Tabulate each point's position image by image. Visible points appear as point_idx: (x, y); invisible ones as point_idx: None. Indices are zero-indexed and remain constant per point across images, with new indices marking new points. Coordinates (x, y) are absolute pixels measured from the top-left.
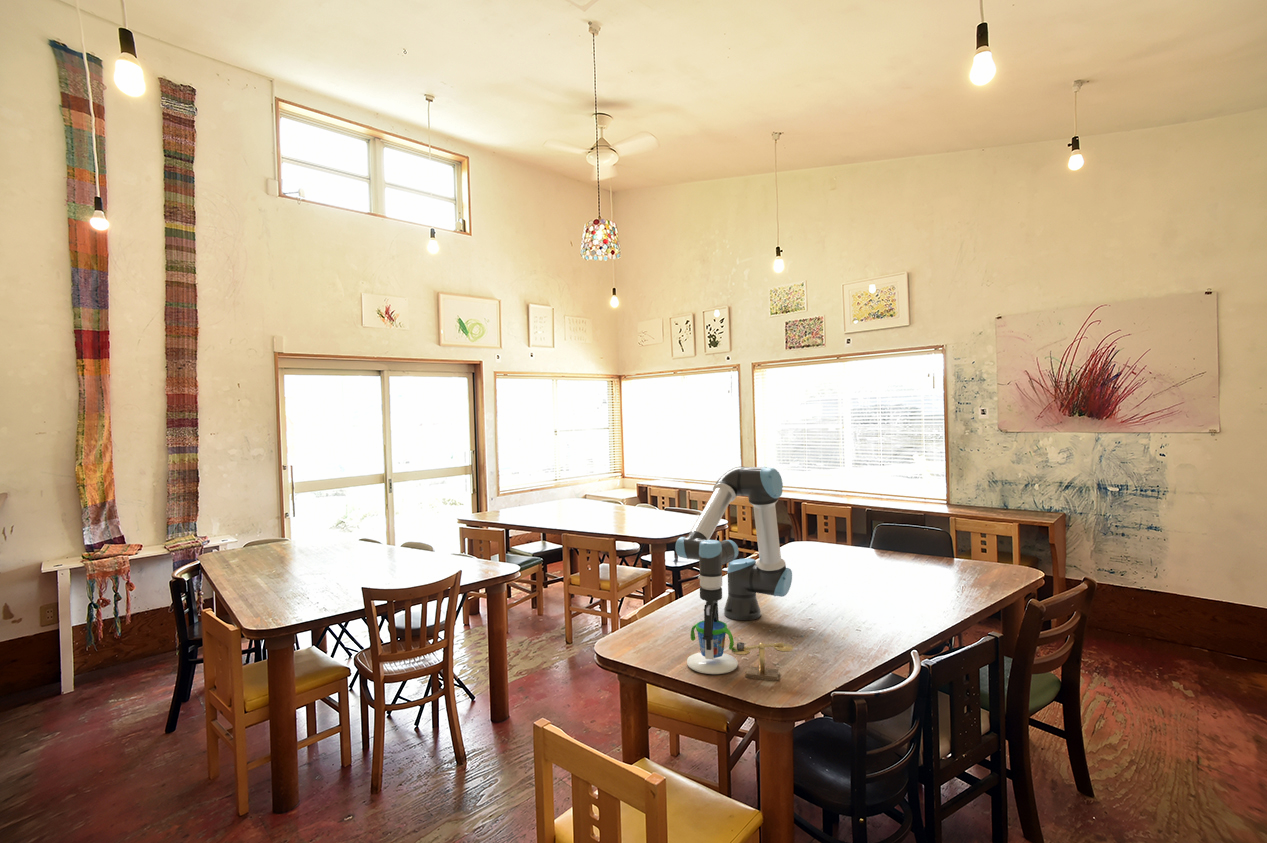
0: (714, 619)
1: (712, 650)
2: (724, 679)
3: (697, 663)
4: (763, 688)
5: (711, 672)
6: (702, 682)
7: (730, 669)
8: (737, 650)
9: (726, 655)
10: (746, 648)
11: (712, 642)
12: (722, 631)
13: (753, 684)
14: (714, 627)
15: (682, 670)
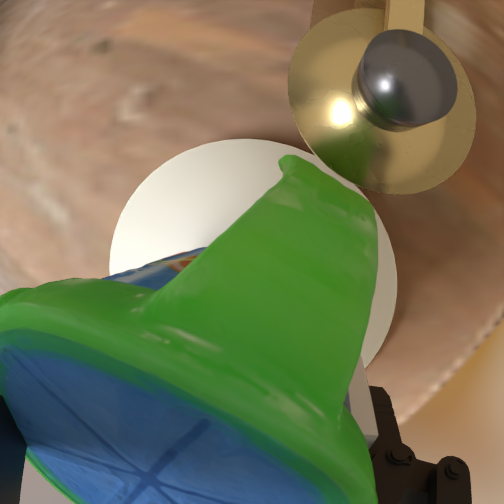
0: (2, 438)
1: (361, 368)
2: (436, 236)
3: None
4: (500, 63)
5: (394, 310)
6: (450, 342)
7: (363, 194)
8: (413, 130)
9: (145, 207)
10: (418, 33)
11: (373, 417)
12: (342, 410)
13: (477, 93)
14: (146, 462)
15: None
